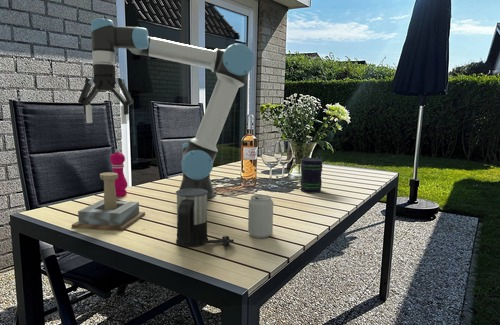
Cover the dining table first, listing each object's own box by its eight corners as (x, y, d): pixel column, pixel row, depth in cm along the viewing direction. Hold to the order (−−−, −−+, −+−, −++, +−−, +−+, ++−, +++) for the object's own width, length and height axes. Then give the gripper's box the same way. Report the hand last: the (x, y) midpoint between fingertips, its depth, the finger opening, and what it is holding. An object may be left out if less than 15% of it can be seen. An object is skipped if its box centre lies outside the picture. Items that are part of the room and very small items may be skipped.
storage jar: (320, 188, 175) (321, 158, 173) (322, 193, 165) (323, 161, 163) (299, 188, 176) (300, 157, 174) (300, 192, 166) (301, 160, 164)
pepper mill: (122, 197, 152) (120, 150, 149) (106, 196, 154) (104, 149, 151) (131, 193, 159) (129, 148, 156) (116, 192, 161) (114, 147, 158)
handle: (110, 221, 118) (108, 176, 115) (99, 217, 121) (96, 173, 119) (123, 217, 122) (121, 174, 119) (111, 214, 125) (109, 171, 123)
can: (247, 230, 114) (247, 193, 112) (270, 230, 115) (271, 193, 113) (249, 239, 107) (249, 199, 105) (274, 238, 107) (275, 199, 106)
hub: (145, 214, 129) (144, 201, 128) (122, 230, 112) (122, 215, 111) (100, 212, 131) (99, 198, 130) (71, 227, 114) (70, 212, 113)
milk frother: (176, 236, 108) (175, 188, 106) (228, 233, 111) (228, 186, 109) (176, 255, 94) (175, 200, 92) (235, 251, 98) (236, 198, 95)
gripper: (141, 65, 133) (143, 123, 137) (77, 65, 136) (81, 122, 140) (132, 63, 126) (134, 124, 129) (65, 63, 129) (69, 123, 132)
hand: (106, 123), depth 134 cm, fingers open, 13 cm apart
